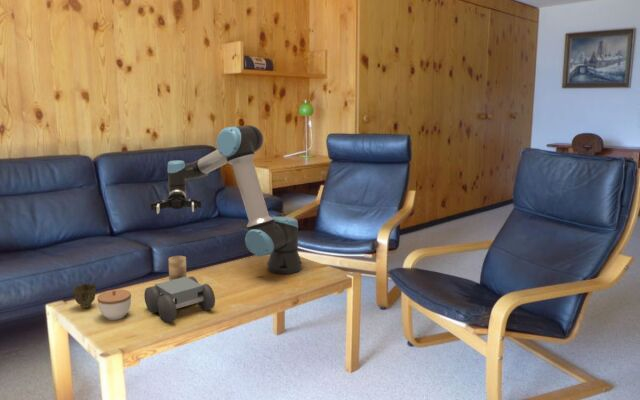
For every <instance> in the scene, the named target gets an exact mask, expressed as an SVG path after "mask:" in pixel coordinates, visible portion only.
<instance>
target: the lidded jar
mask: <svg viewBox="0 0 640 400" xmlns="http://www.w3.org/2000/svg"><path fill="white" fill-rule="evenodd" d="M96 298H97V303H98V304H97V305H98V309H99V312H100V314H102V316H103V317H105V319H106V320H110V321H116V320H117V321H118V320H121V319H124V317H126V314H128V312H129V311H130V308H131V304H132V293H131V292H130V290H127V289H120V288H119V289H118V288H117V289H110V290H106V291H104V292H101V293H100V294H98V295H97V297H96Z"/></svg>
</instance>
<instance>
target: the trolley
mask: <svg viewBox="0 0 640 400" xmlns="http://www.w3.org/2000/svg"><path fill="white" fill-rule="evenodd" d="M143 296H144V303H145V306H146V308H147V310H148V311H149V312H150V313H151V314H154V313H158V314H159V317H160V319H161V320H162V322H164V323H169V322H172V321H174V320H176V319H177V314H178V313H177V312H178V311H177V309H180V308H183V307H188V306H191V305H194V304H197V305H198V307H199V308H200V309H201V310H202V311H208V310H211V309H213V308H214V307H215V304H216V297H215V294H214V290H213V288H212V287H211V286H210V284H208V283H205V284H204V283H203V284H201V283H199V282H198V280H197V278H195V277H194V276H189V277H188V276H187V277H182V278H178V279H174V280H170V281H169V280H166V281H162V282H159V283H156V284H154V285H153V286H149V287H146V288H145V290H144V295H143Z"/></svg>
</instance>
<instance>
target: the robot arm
mask: <svg viewBox="0 0 640 400" xmlns="http://www.w3.org/2000/svg"><path fill="white" fill-rule="evenodd" d="M263 144H264V135H263V133H262V131H261V130H260V129H259V128H258V127H256V126H255V125H249V124H248V125H239V126H238V125H237V126H235V125H233V126H228V127H224V128H223V129H222V130H221V131H220V132H219V133H218V136H217V137H216V147H217V149H215V150H214V151H212V152H210V153H208V154H206V155H205V156H203V157H201V158H199V159H198V160H196V161H193V162H189V163H188V162H187V163H185V161H184V160H177V159H176V160H169V161H168V162H167V178H168V180H167V181H168V197H167V199H166V200H164V199H163V198H161V199H159V200H156V201H154V202H151V203H149V204H150V207H149V208H150V210H151V211H154V212H156V214H157V215H158V214H160V211H161V210H162V209H166V208H168V209H170V208H171V209H173V210H181V209H183V208H186V207H188V208H191V212H192V213H194V212H195V209H199V208H202V201H201V200H199V199H198V200H197V199H195V198H193V197H190V198H189V199H188V198H187V194H188V193H187V183H186V182H187V181H189V180H194V179H203V178H204V177H207V176H208V175H209V174H210V173H211V172H213V171H215V170H216V169H219V168H221V167H223V166H224V165H226V164H229V165H231V166H232V169H233V172H234V176H235V178H236V182H237V186H238V189H239V193H240V195H241V198H242V202H243V207H244V209H245V212H246V216H247V219H248V223H247V225H246V228H247V229H246V230H247V233H246V234H245V237H244V242H245V246H246V248H247V249H248V251H250V253H251V254H253V255H254V256H257V257H265V256H268V255H269V258H268V261H267V264H266V265H267V267H266V269H267V271H268V272H270V273H273V274H278V275H290V274H295V273H298V272H300V271H301V270H302V268H303V265H302V260H301V258H300V255H299V222H298V219H297V218H294V217H290V216H289V217H288V216H273V217H272V216H271V215H270V214H269V211H268V207H267V204H266V201H265V198H264V194H263V191H262V187H261V184H260V181H259V180H260V179H259V177H258V173H257V170H256V166H255V163H254V158H255V156H256V152H257V151H259V150H260V149H261V148H262V146H263Z"/></svg>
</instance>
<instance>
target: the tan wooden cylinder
mask: <svg viewBox="0 0 640 400" xmlns="http://www.w3.org/2000/svg"><path fill="white" fill-rule="evenodd" d="M187 275H188V274H187V257H186V256H183V255H173V256H170V257H168V279H169V280H168V281H170V280H174V279H178V278H182V277H188V276H187Z"/></svg>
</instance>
